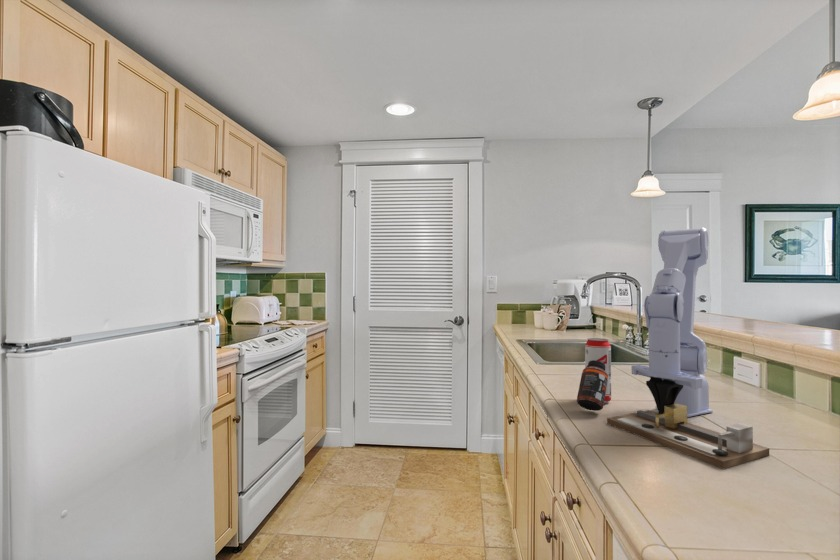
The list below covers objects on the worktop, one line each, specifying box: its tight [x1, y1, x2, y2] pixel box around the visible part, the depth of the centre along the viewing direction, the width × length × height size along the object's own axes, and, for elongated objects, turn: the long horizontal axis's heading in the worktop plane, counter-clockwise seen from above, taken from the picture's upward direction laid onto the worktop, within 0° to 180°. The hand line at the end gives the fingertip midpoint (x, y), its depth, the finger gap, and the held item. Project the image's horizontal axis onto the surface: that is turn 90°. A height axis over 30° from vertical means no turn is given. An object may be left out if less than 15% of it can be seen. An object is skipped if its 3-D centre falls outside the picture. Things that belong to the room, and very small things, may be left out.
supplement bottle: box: [576, 360, 608, 412], centre depth 100 cm, size 6×6×11 cm
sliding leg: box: [655, 404, 688, 429], centre depth 84 cm, size 8×2×4 cm, turn 113°
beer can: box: [584, 337, 612, 404], centre depth 108 cm, size 6×6×16 cm
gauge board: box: [606, 409, 770, 470], centre depth 82 cm, size 13×24×5 cm, turn 23°
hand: (664, 415), depth 87 cm, fingers closed
